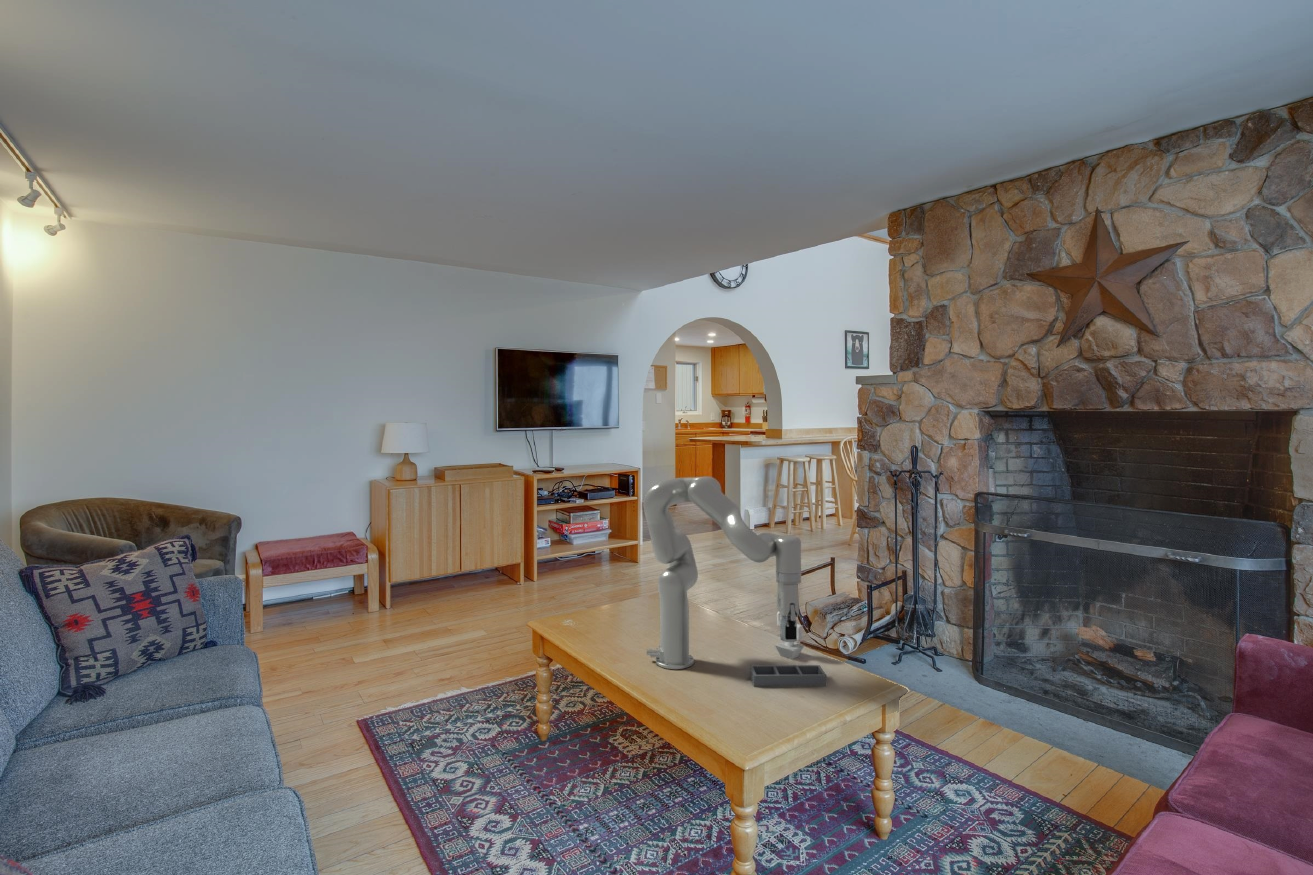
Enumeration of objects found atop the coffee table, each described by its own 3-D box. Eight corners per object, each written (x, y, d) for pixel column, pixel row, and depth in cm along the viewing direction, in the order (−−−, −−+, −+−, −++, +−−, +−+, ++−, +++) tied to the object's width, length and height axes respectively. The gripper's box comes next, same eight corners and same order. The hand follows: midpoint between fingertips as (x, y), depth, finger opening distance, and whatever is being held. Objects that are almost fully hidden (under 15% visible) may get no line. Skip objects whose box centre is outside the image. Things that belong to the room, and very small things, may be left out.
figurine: (796, 662, 212) (796, 617, 211) (771, 655, 218) (772, 611, 217) (807, 656, 217) (807, 612, 216) (783, 649, 223) (783, 606, 223)
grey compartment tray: (754, 686, 193) (754, 675, 193) (750, 675, 201) (750, 665, 201) (826, 686, 194) (826, 675, 194) (819, 675, 201) (819, 664, 201)
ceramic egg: (782, 642, 194) (782, 617, 194) (778, 636, 199) (778, 612, 199) (798, 641, 194) (798, 617, 194) (795, 636, 199) (794, 612, 199)
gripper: (770, 570, 204) (771, 626, 205) (781, 584, 187) (782, 646, 188) (794, 569, 205) (794, 626, 205) (807, 584, 188) (807, 645, 188)
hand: (788, 635), depth 197 cm, fingers closed on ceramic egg, 5 cm apart
